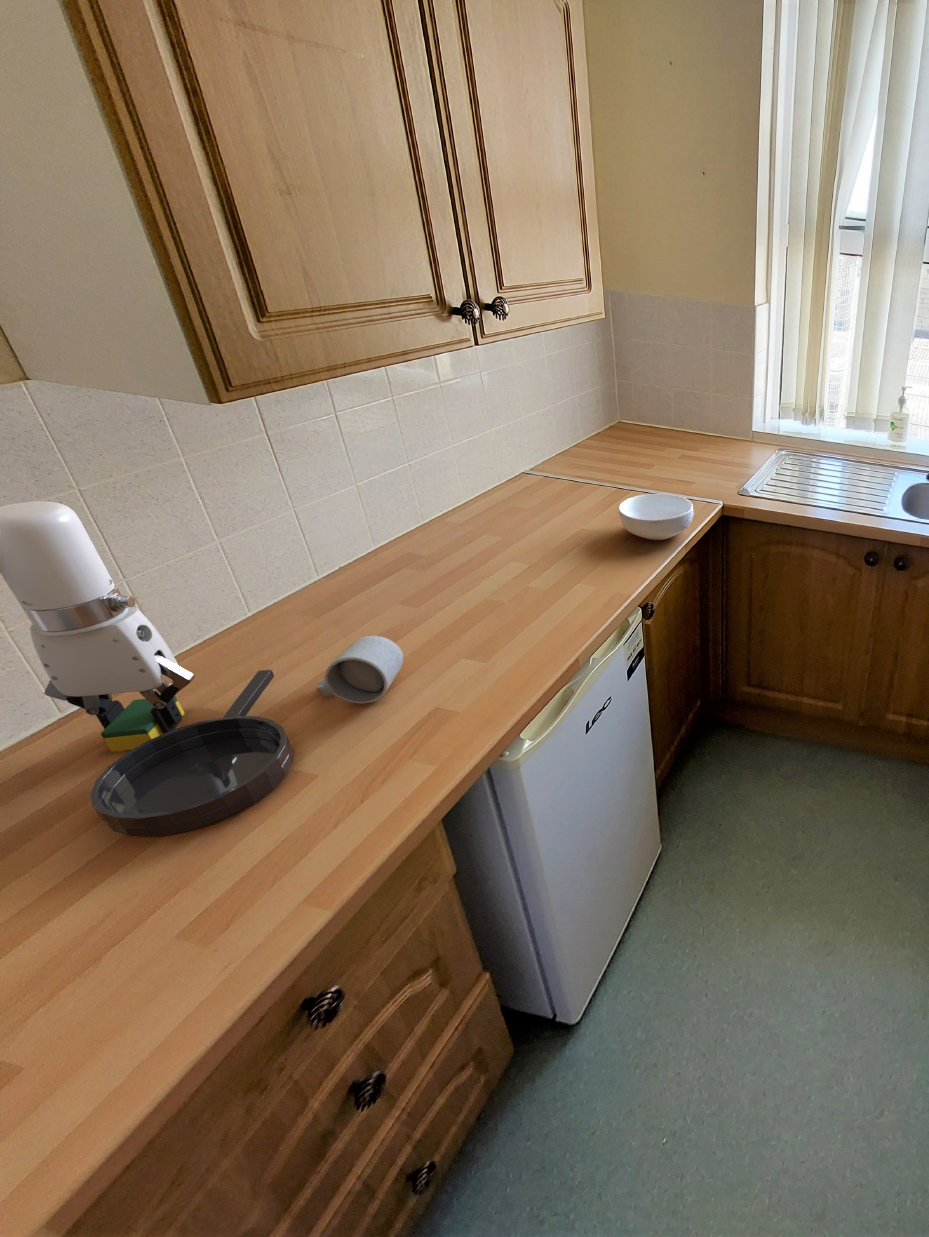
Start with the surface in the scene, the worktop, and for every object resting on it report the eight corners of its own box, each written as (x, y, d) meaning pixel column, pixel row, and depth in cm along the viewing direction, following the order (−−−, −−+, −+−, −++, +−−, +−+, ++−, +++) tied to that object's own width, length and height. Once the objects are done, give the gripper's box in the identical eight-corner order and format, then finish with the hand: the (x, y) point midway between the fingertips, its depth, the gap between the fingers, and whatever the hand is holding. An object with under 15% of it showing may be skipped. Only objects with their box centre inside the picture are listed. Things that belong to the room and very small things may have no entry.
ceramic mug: (412, 670, 100) (398, 627, 96) (393, 702, 93) (377, 658, 89) (335, 674, 98) (318, 631, 94) (309, 708, 91) (289, 663, 87)
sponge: (111, 752, 81) (99, 733, 79) (143, 717, 87) (133, 699, 85) (156, 747, 82) (145, 728, 81) (185, 713, 88) (175, 695, 86)
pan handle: (224, 726, 83) (220, 718, 83) (261, 677, 92) (258, 670, 92) (239, 724, 84) (236, 717, 83) (274, 676, 93) (271, 669, 92)
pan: (66, 853, 68) (49, 830, 66) (157, 746, 82) (145, 725, 81) (261, 825, 73) (250, 803, 71) (316, 728, 87) (307, 708, 85)
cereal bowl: (638, 516, 160) (636, 489, 156) (703, 525, 158) (702, 497, 155) (608, 542, 145) (605, 513, 142) (679, 552, 144) (677, 522, 140)
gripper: (184, 588, 81) (239, 704, 90) (6, 598, 76) (84, 720, 85) (149, 618, 74) (213, 739, 84) (-46, 631, 70) (44, 758, 79)
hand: (147, 728), depth 84 cm, fingers closed on sponge, 4 cm apart
